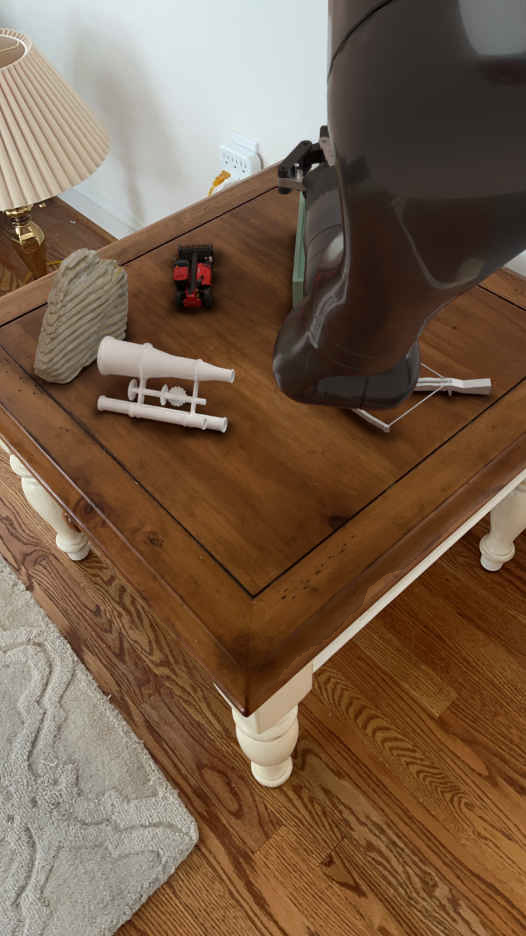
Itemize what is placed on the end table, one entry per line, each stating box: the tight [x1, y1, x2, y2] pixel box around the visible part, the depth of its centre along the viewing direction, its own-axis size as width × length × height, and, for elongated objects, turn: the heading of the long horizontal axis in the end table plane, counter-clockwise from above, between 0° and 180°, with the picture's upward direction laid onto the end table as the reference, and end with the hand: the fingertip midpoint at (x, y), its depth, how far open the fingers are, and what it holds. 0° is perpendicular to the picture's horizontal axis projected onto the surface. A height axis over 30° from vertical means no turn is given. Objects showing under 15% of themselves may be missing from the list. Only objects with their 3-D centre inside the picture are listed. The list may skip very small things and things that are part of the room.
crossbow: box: [351, 362, 492, 433], centre depth 79 cm, size 16×13×2 cm
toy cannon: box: [96, 336, 235, 433], centre depth 78 cm, size 8×14×5 cm
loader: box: [172, 241, 216, 310], centre depth 90 cm, size 12×5×5 cm, turn 1°
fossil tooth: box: [33, 247, 130, 384], centre depth 82 cm, size 12×6×15 cm
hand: (348, 129), depth 75 cm, fingers closed on game box, 3 cm apart
